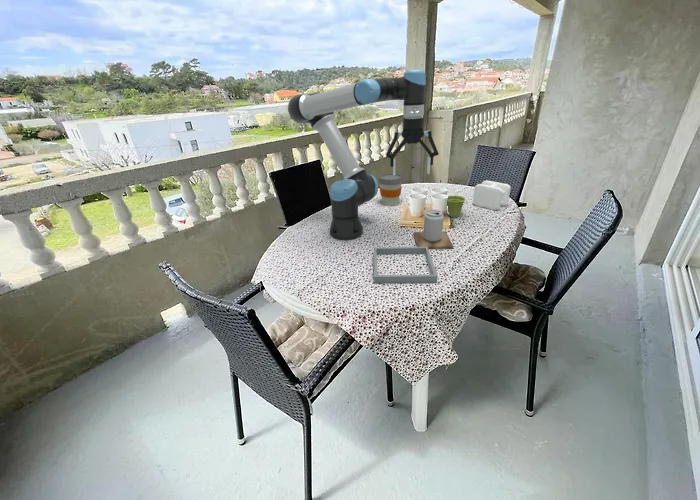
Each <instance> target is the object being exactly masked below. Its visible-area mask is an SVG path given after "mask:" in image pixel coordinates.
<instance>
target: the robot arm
mask: <svg viewBox="0 0 700 500" xmlns="http://www.w3.org/2000/svg"><path fill="white" fill-rule="evenodd" d="M426 85H427V83H426V70H424V69H410V70H405V71H404V74H403V76H401V77H381V78H365V79H361V80H360V81H358V82H355V83H351V84H348V85H347V84H346V85H344V86H340V87H336V88H334V89H330V90H326V91H322V92H313V93H304V94H303V93H302V94H301V93H300V94H296V95H294V96H292V97H291V98H290V100H289V102H288V104H287V112H288V115H289V117H290V118H291V120H292V121H294V122H295V123H298V124H300V125H301V124H302V125H304V124H309V125H310V126H311V128H312V130H313V131H316V132H318V133H319V135H320V138H321V139H322V141H323V143H324V145H325V146H326V147H327V149H328V152H329V153H330V155H331V156H332V158H333V160H334V161H335V163H336V165H337V167H338V169H339V170H340V172H341V174H342V176H343V179H342V180H341V179H340V180H336V181H334V182H333V183H332V184H331V186H330V191H329V192H330V193H329V197H330V205H331V216H332V219H331V223H330V227H329V235H330V237H332V238H333V239H335V240H338V241H348V240H354V239H357V238H359V237H361V236H362V235H363V234H364V230H363V229H364V228H363V225H362V222H361V219H360V217H359V207H360V206H363V205H364V204H366V203H367V202H369V201H371V200H372V199H374V198H375V197H376V196H377V194H378V191H379V183H378V182H379V181H378V180H377V178H376V177H375V176H374V175H372V174H370V173H368V172H367V170H366V169H365V168H363V167H361V166H360V165H359V163H358V161H357V159H356V157H355V156H354V153H352V150H351V148H350V146H349V145H348V144H347V141H346V140H345V138H344V136H343V135H342V133H341V131H340V129H339V127H338V126H337V123H336V121H335V118H336V115H335V112H338V111H342V110H347V109H351V108H356V107H361V106H365V105H369V104H375V103H381V102H382V103H383V102H387V101H403V110H402V113H403V114H402V117H404V118H403V119H402V131H401V132H400V131H394V135H393V139H392V141H391V143H390V145H389V146H388V149H387V150H386V154H385V157H386V158H389V160H390V162H389V164H390V167H392V174H393V175H395V174H396V156H397V154H398V153H399V152H400V151H401V150H402V148H403V147H404V146H405V145H406V144H408V145H411V144H414V145H415V144H418V143H419V144H420V145H421V146H422V148H423V149H424V150H425V152H427V154H428V156H427V162H426V163H427V164H426V174H427V175H430V171H431V166H433V164H434V157H436V156H439V151H438V148H437V146H436V144H435V142H434V139H433V137H432V131H431V130H430V129H428V130H426V131H425V130H424V120H425V119H424V117H423V116H424V114H425V95H426ZM424 136H425V137H427V140H428V142H429V143H430V146H431V148H432V150H433V152H432V151H431V150H430V148H429V147H428V145H426V143H425V142H424V141H423V140H422V138H423V137H424ZM400 137H402V140H401V141H400V143H399V144H398V146H397V147H396V148H395V149H394V147H395V145H396V143H397V141H398V139H399V138H400ZM393 149H394V150H393ZM392 151H393V152H392Z"/></svg>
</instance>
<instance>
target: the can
mask: <svg viewBox="0 0 700 500" xmlns="http://www.w3.org/2000/svg"><path fill="white" fill-rule="evenodd" d="M444 220H445V219H444V214H443V212H442V211H441V210H439V209H429V210H427V211H426V213H425V214H424V220H423V231H422V232H423V237H424V238H425V239H426V240H427V241H430V242H437V241H439V240H440V239H441V238H442V231H443V230H444V229H443V228H444Z"/></svg>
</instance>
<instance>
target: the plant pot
mask: <svg viewBox="0 0 700 500" xmlns="http://www.w3.org/2000/svg"><path fill="white" fill-rule="evenodd" d="M465 201H466V198H465V197H464V196H461V195H448V200H447V205H446V207H447V206H448V212H449V215H450V216H451V217H450V218H458V217H460V216H461V212H462V210H463V209H462V208H463V206H464V203H465Z"/></svg>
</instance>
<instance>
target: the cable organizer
mask: <svg viewBox="0 0 700 500" xmlns="http://www.w3.org/2000/svg"><path fill="white" fill-rule="evenodd" d="M510 193H511V185H509V184H508V183H502V182H498V181H492V180H487V179H486V180H483V181H482V182H481V183H477V184H476V185H475V186H474V190H473V198H472V203H473V204H474V205H475V206H477V207H478V206H479V208H485V209H488V210H491V211H497V210H499V209H500V208H501V207H502V206H505V205H508V203H509V199H510Z"/></svg>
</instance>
